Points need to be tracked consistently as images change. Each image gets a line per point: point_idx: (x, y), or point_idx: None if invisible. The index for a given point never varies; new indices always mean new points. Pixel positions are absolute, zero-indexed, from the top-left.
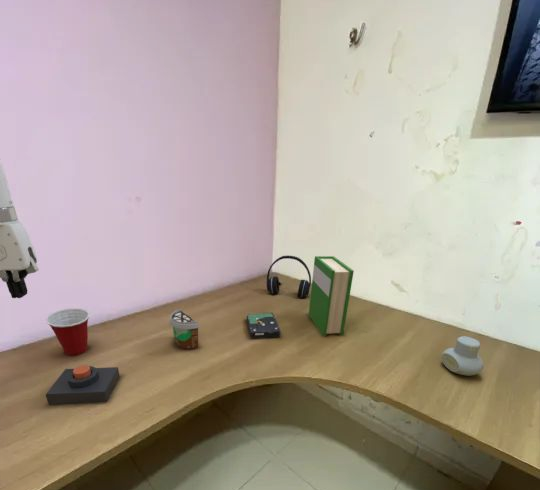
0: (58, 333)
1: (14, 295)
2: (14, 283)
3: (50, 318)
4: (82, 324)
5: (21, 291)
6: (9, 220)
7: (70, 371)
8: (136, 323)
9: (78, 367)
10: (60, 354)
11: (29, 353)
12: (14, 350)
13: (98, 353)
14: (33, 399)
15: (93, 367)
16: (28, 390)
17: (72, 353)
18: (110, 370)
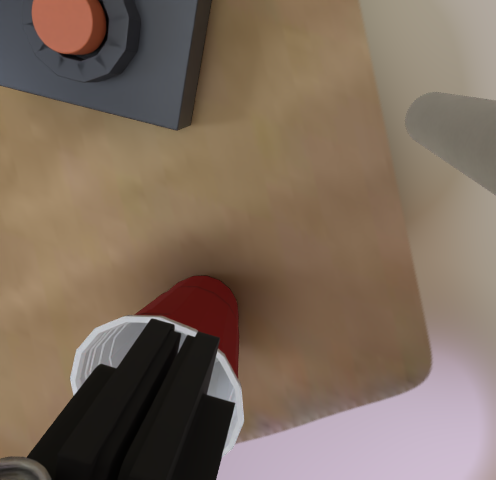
0: (206, 321)
1: (186, 348)
2: (70, 440)
3: (235, 415)
4: (102, 338)
5: (107, 375)
6: None
7: (154, 104)
8: (49, 419)
9: (77, 37)
10: (253, 298)
11: (357, 339)
12: (411, 375)
13: (128, 263)
14: (278, 23)
15: (46, 61)
16: (308, 90)
17: (205, 278)
18: (11, 65)
